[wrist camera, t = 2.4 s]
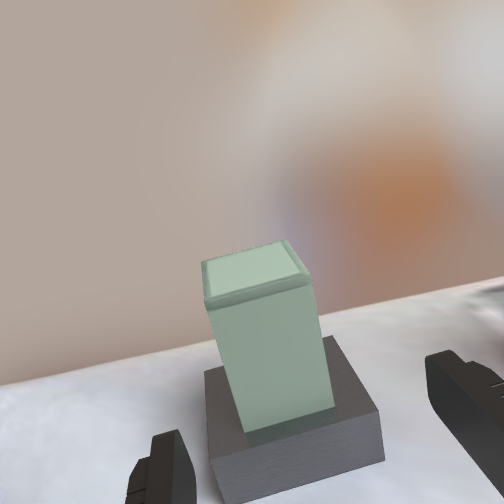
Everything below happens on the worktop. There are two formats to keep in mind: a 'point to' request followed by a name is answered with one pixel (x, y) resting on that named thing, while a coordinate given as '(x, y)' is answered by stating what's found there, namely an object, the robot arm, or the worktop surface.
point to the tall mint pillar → (268, 334)
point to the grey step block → (292, 437)
